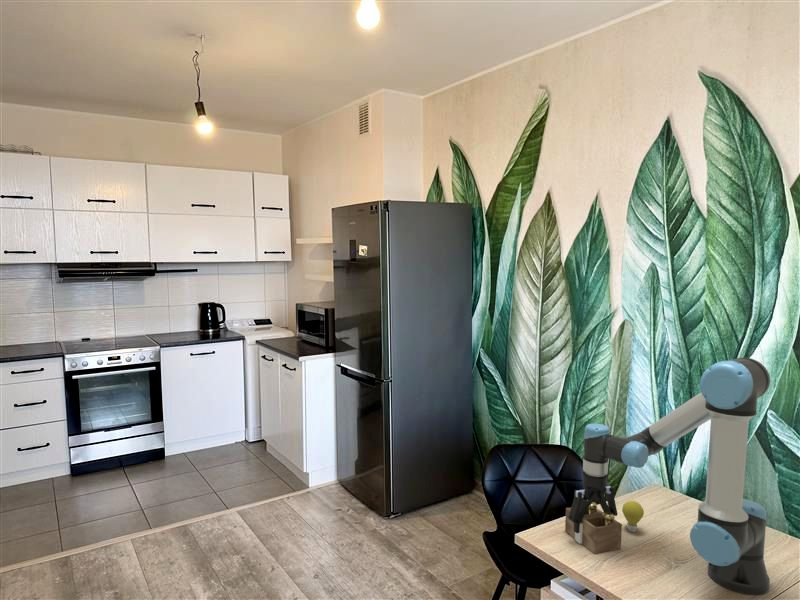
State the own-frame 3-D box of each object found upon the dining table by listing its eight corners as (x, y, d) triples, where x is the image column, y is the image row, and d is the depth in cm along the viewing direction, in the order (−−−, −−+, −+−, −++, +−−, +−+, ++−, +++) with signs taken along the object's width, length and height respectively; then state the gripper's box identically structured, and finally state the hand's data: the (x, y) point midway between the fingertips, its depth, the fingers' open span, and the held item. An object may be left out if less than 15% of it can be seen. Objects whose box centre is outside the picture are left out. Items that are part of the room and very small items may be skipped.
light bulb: (639, 537, 183) (641, 507, 182) (618, 531, 187) (620, 502, 186) (645, 529, 188) (646, 501, 187) (624, 523, 192) (625, 495, 192)
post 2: (614, 546, 176) (616, 515, 176) (605, 548, 175) (607, 517, 175) (607, 541, 180) (608, 511, 179) (598, 543, 178) (600, 512, 178)
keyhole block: (620, 548, 175) (621, 524, 174) (594, 553, 172) (595, 528, 171) (589, 527, 189) (590, 504, 188) (565, 531, 186) (565, 508, 185)
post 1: (597, 534, 184) (599, 505, 183) (589, 536, 183) (590, 506, 182) (591, 530, 187) (592, 501, 186) (582, 531, 186) (584, 502, 185)
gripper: (615, 464, 186) (612, 529, 187) (558, 472, 179) (555, 539, 180) (631, 472, 179) (628, 539, 180) (572, 480, 172) (570, 550, 173)
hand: (592, 539), depth 180 cm, fingers closed on keyhole block, 10 cm apart
